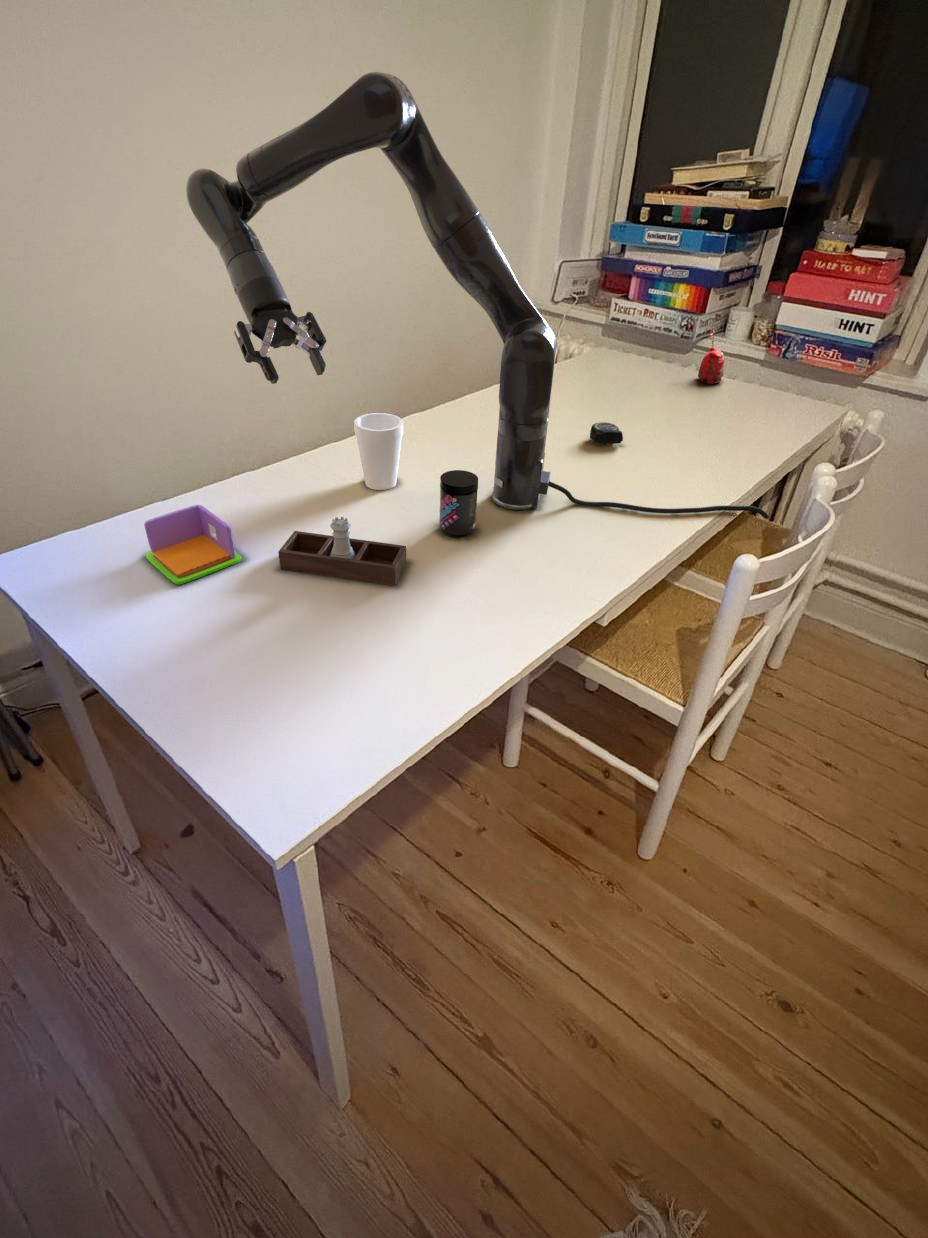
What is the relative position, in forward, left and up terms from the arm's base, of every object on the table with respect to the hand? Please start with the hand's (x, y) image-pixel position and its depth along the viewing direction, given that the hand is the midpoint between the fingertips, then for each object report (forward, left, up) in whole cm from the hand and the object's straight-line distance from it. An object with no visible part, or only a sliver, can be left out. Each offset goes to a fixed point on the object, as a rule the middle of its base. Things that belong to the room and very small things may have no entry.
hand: (299, 376), depth 116 cm
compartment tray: (-12, +16, -25) cm, 32 cm away
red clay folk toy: (-83, -108, -26) cm, 138 cm away
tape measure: (-54, -51, -26) cm, 78 cm away
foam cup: (-9, -16, -26) cm, 31 cm away
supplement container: (-28, -1, -26) cm, 38 cm away
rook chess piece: (-12, +16, -25) cm, 32 cm away
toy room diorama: (+13, +20, -26) cm, 35 cm away
